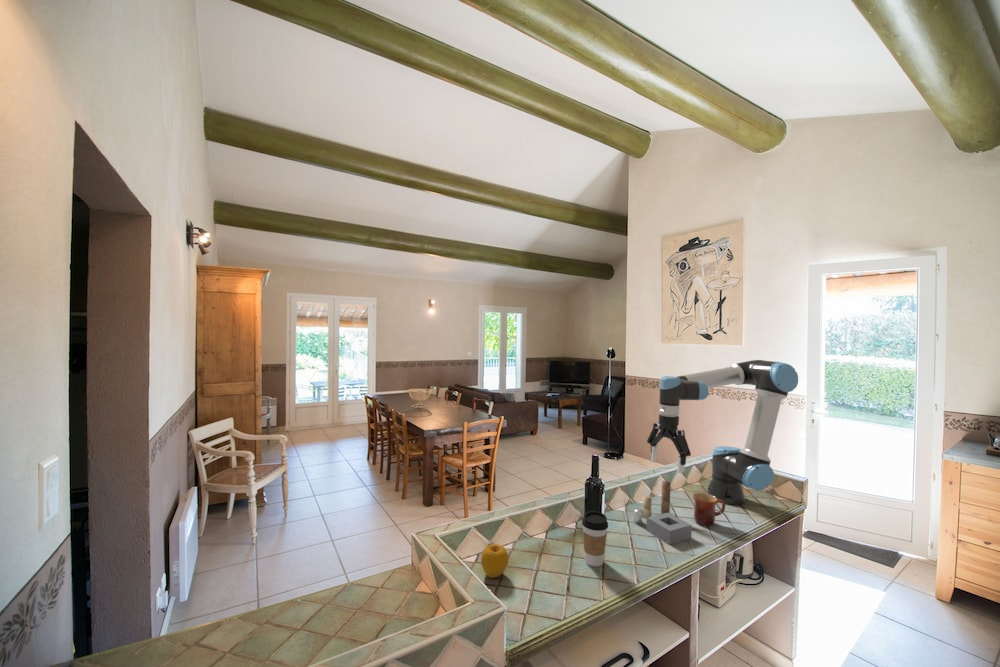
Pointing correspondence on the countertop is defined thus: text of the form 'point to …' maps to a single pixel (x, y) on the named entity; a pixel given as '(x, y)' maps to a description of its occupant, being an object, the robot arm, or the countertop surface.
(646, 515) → the beech pin
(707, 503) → the mug
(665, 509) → the walnut pin
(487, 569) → the apple
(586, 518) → the coffee cup
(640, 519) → the steel pin
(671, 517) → the hole block
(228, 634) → the countertop surface
